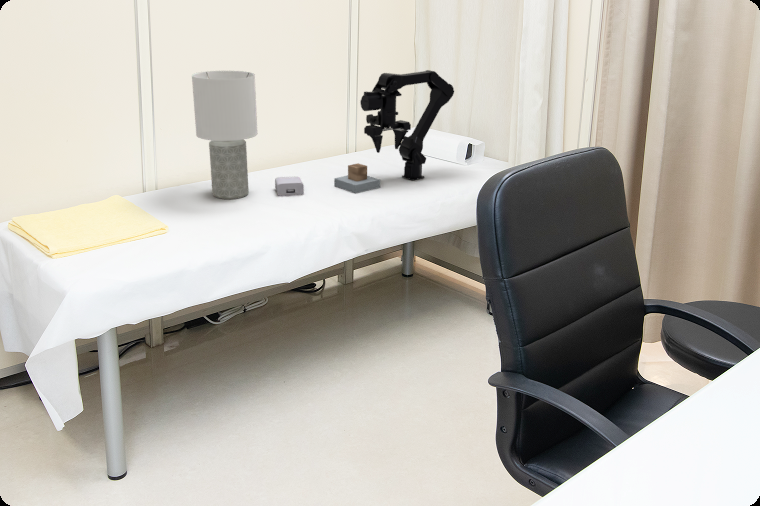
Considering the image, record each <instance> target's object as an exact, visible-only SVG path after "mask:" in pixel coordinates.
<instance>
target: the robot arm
mask: <svg viewBox="0 0 760 506" xmlns="http://www.w3.org/2000/svg"><path fill="white" fill-rule="evenodd" d="M423 83H424V84H427V86H428V88H429V89H430V93H429V102H428V103H427V105H426V108H425V109H424V111H423V113H422V115H421V117H420V118H419V120H418V122H417V124H416V126H415V128H414V129H413V131H412V133H411V135H409V136H407V133H409V131H410V130H411V129H412V128H411V127H412V125H411V123H410V121H407V120H401V119H400V120H397V119H396V118H397V116H399V112H398V111H397V97H402V93H401V92H400V91H399V90H400V89H402V88H403V87H406V86H411V85H419V84H423ZM454 94H455V90H454V87H453V85H452V83H451V84H450V83H448V82H447V80H445V79H444V78H442V76H440V75H439V74H438V72H436V71H435V70H434V71H433V70H429V69H427V70H424V71H417V72H416V71H415V72H410V73H402V74H400V73H390V72H389V73H388V72H384V73H381V74H380V75H379V77H378V80H377V81H376V83H375V85H374V87H373V89H372V91H363V95H362V96H361V99H360V100H359V101H360V102H359V103H360V107H361V110H362V111H364V112H370V111H371V112H372V111H377V115H374V114H373V113H371V114H370V113H369V114H367V115H366V117H365V120H366V124H369V125H365V127H364V129H363V133H364V135H366V136H368V137H370V138H371V140H372V142H373V145H374V148H375V150H376V151H375V152H376V153H378V154H380V152H381V150H382V149H381V148H382V143H383V132H385V131H393V134H394V148H395V150H398V152H399V155H400V157H401V160H402V161H405V162H404V168H403V170H404V171H403V175H401V178H404V179H407V180H411V181H416V180H420V179H424V178H425V176H424V175H422V174H423V173H422V172H423V165H424V164H426V161H427V157H426V156H425V155H424V154H423V153H422V152H423V147H424V140H425V138H426V137H427V134H428V132H429V130H430V129H431V127H432V125H433V123H434V121H435V120H436V118H437V116H438V113H440V110H441V109H442V107H443V106H445V105H446V104H448V103H449V102H450V100H451V99H452V97H453V96H454Z"/></svg>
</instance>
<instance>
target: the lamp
mask: <svg viewBox="0 0 760 506" xmlns="http://www.w3.org/2000/svg"><path fill="white" fill-rule="evenodd" d="M255 75H256V74H255V73H252V72H251V71H250V72H249V71H243V70H242V71H241V70H210V71H208V70H207V71H201V72H196V73H193V74H191V82H192V95H193V111H194V120H195V123H194V124H195V136H196V137H197V138H199V139H202V140H204V141H205V140H206V141H209V142H208V148H209V151H208V152H209V165H210V176H211V189H212V190H211V193H212V195H213V197H215V198H217V199H220V198H222V200H223V199H224V200H236V199H235V198H237V199H242V198H244V196H245V197H247V195H248V194H249V190H250V189H249V173H248V151H247V141H246V140H248V139H251V138H252V139H253V138H254V137H256V136H257V135H258V116H257V113H258V112H257V100H256V99H257V96H256V95H257V93H256V76H255ZM241 197H242V198H241Z"/></svg>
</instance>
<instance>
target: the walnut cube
mask: <svg viewBox="0 0 760 506" xmlns="http://www.w3.org/2000/svg"><path fill="white" fill-rule="evenodd" d="M347 175H348V179H351V180H354V181H362V180H366V179H367V176H368V165H365V164H362V163H359V162H358V163H353V164H349V165H347Z"/></svg>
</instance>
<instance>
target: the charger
mask: <svg viewBox="0 0 760 506" xmlns="http://www.w3.org/2000/svg"><path fill="white" fill-rule="evenodd" d="M274 185H275V186H274V187H275V191H276V194H277V195H278V197H289V196H290V197H291V196H293V197H294V196H303V195H304V194H305V193H304V191H305V188H304V187H305V186H304V183H303V181H302V178H301V176H278V177H276V178H274Z"/></svg>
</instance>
